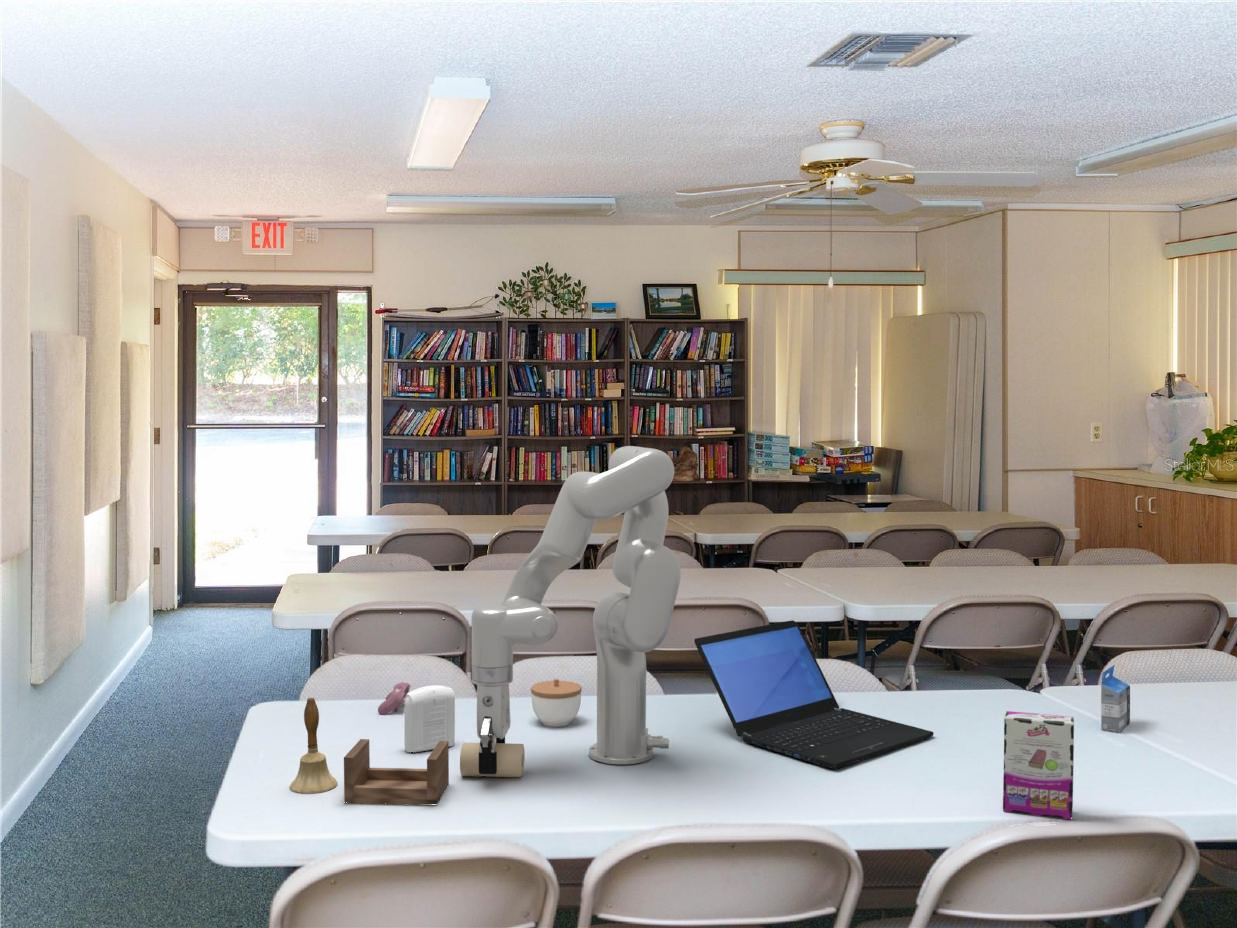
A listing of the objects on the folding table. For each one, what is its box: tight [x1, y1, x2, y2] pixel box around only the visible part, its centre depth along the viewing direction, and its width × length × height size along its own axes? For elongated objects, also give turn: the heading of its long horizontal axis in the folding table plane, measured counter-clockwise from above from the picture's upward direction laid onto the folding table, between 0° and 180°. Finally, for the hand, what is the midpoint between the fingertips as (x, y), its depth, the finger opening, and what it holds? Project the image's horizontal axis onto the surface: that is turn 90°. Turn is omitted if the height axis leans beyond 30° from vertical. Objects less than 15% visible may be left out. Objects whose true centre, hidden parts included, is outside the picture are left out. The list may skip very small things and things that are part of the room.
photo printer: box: [404, 684, 456, 754], centre depth 232 cm, size 10×4×12 cm, turn 123°
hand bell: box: [289, 697, 338, 795], centre depth 210 cm, size 8×8×16 cm
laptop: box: [694, 620, 935, 770], centre depth 243 cm, size 33×38×19 cm
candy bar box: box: [1002, 710, 1075, 820], centre depth 199 cm, size 11×5×16 cm, turn 69°
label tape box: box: [1100, 665, 1131, 734], centre depth 248 cm, size 9×4×12 cm, turn 143°
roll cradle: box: [343, 738, 450, 805], centre depth 206 cm, size 16×10×8 cm, turn 87°
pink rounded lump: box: [377, 681, 412, 715], centre depth 260 cm, size 10×5×7 cm, turn 179°
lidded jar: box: [530, 678, 583, 728], centre depth 250 cm, size 11×11×9 cm
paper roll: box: [459, 742, 526, 778], centre depth 216 cm, size 11×6×6 cm, turn 87°
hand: (492, 764), depth 216 cm, fingers open, 9 cm apart
